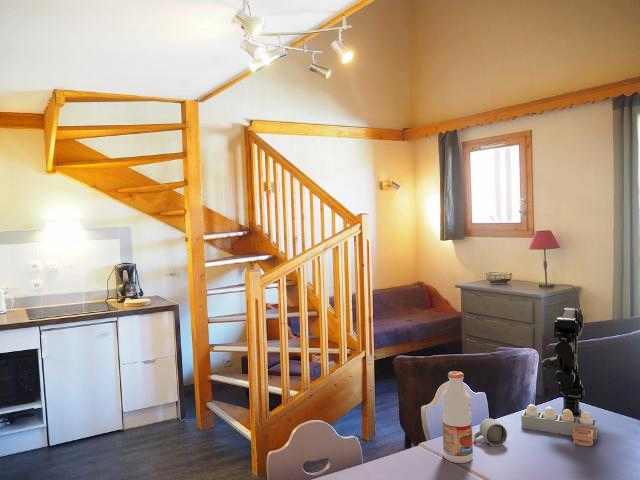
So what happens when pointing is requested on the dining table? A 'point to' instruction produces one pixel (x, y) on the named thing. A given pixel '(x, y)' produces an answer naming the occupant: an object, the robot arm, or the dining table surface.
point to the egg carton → (557, 421)
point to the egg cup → (583, 436)
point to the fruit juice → (457, 421)
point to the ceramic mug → (491, 433)
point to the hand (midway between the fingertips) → (567, 393)
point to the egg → (549, 413)
